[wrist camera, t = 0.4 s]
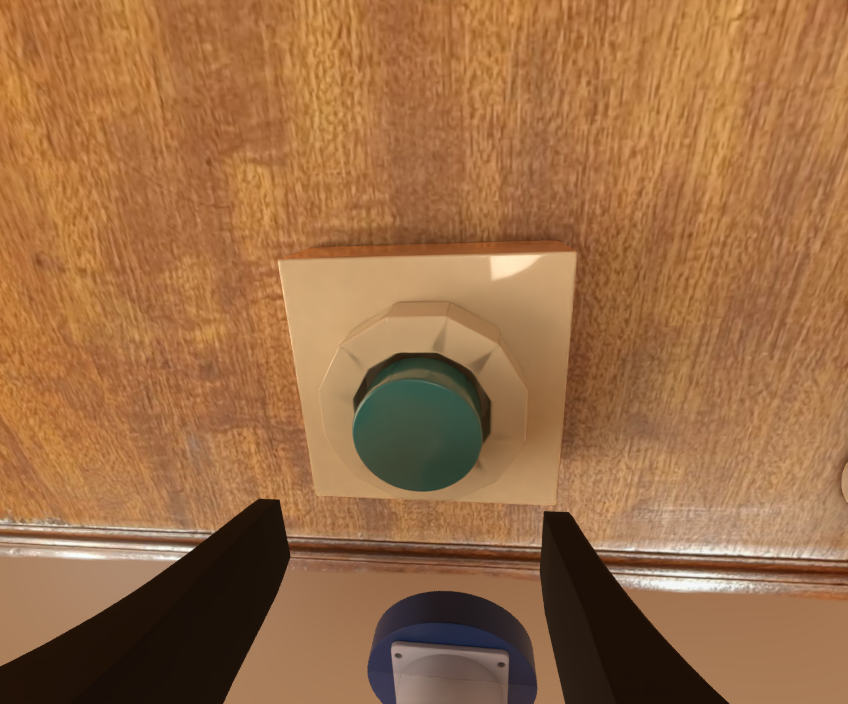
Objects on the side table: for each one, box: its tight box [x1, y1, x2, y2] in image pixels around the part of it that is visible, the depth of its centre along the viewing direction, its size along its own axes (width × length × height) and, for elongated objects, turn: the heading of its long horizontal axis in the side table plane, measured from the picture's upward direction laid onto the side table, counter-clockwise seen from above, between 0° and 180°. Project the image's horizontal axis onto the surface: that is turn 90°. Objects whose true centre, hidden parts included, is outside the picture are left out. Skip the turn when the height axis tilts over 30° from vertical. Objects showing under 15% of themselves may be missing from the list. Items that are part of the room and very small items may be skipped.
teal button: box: [352, 357, 483, 492], centre depth 14 cm, size 4×4×2 cm
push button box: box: [278, 240, 577, 506], centre depth 16 cm, size 10×10×5 cm
